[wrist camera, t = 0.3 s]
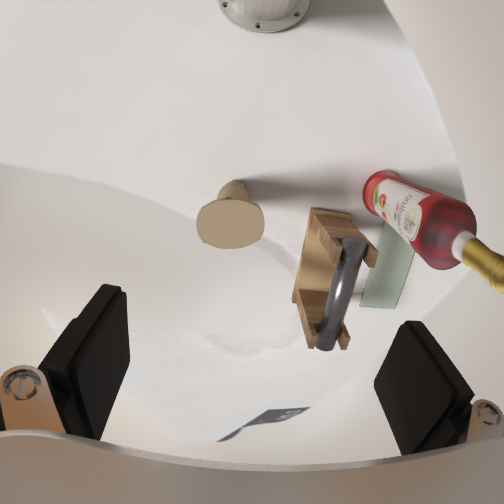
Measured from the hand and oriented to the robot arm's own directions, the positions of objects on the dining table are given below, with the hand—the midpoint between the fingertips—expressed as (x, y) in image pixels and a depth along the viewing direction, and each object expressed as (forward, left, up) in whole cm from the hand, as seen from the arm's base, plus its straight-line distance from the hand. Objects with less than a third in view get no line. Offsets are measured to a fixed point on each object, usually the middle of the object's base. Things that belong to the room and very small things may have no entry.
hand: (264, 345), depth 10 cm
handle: (+3, -2, -36) cm, 36 cm away
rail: (+12, +12, -24) cm, 30 cm away
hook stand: (+12, +12, -36) cm, 40 cm away
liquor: (0, +20, -36) cm, 41 cm away
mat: (+12, +25, -36) cm, 45 cm away
